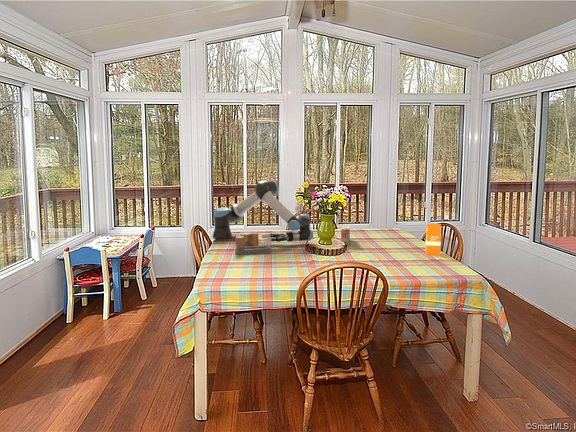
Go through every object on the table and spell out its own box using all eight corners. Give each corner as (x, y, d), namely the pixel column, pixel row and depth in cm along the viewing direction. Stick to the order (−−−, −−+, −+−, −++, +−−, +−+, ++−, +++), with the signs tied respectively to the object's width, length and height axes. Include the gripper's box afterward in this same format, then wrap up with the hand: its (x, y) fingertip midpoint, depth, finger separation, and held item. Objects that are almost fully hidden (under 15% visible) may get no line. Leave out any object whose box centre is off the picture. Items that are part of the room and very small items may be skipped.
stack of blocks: (341, 239, 350) (341, 223, 348) (349, 239, 349) (349, 224, 347) (340, 245, 329) (341, 228, 327) (349, 245, 328) (349, 229, 326)
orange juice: (440, 254, 300) (441, 224, 297) (426, 254, 302) (427, 224, 299) (438, 251, 308) (440, 222, 305) (425, 251, 310) (426, 222, 307)
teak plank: (239, 249, 319) (239, 235, 318) (238, 247, 323) (238, 234, 321) (258, 247, 323) (258, 233, 322) (257, 246, 327) (256, 232, 325)
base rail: (237, 255, 301) (237, 238, 299) (235, 252, 309) (234, 236, 308) (269, 252, 307) (269, 236, 305) (266, 249, 316) (266, 234, 314)
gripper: (297, 244, 320) (268, 246, 314) (287, 238, 344) (260, 239, 338) (297, 234, 319) (268, 236, 313) (287, 228, 343) (259, 230, 337)
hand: (264, 238), depth 325 cm, fingers open, 13 cm apart
